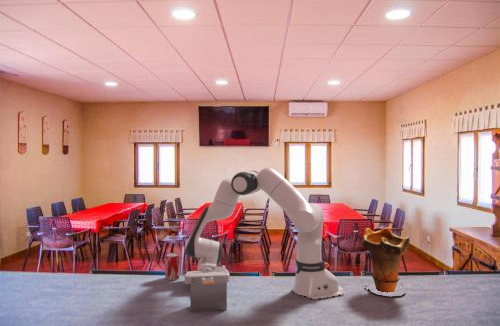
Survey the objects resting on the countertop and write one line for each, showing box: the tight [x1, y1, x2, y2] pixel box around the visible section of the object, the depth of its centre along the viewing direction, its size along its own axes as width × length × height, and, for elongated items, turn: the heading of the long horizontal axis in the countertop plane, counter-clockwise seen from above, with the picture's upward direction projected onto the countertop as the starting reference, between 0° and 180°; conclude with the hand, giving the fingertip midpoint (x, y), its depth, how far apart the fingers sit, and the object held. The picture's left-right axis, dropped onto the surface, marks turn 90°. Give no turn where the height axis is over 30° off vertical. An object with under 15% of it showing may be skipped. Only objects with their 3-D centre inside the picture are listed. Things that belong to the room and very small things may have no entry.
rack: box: [189, 278, 228, 313], centre depth 147 cm, size 14×6×12 cm, turn 98°
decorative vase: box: [362, 226, 410, 293], centre depth 166 cm, size 21×23×28 cm
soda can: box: [164, 252, 181, 282], centre depth 181 cm, size 7×7×12 cm
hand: (207, 283), depth 160 cm, fingers closed
